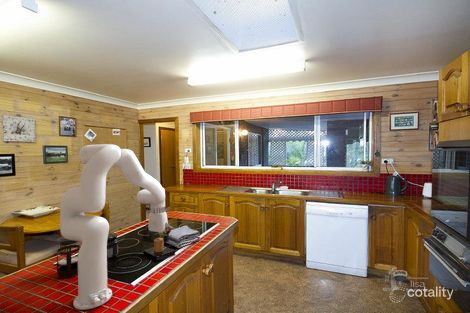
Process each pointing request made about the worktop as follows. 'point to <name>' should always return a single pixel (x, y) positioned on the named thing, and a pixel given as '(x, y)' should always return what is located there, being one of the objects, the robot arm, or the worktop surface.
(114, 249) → the supplement container
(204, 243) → the worktop surface
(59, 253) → the french press
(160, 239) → the oak knob
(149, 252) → the panel
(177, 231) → the towel
